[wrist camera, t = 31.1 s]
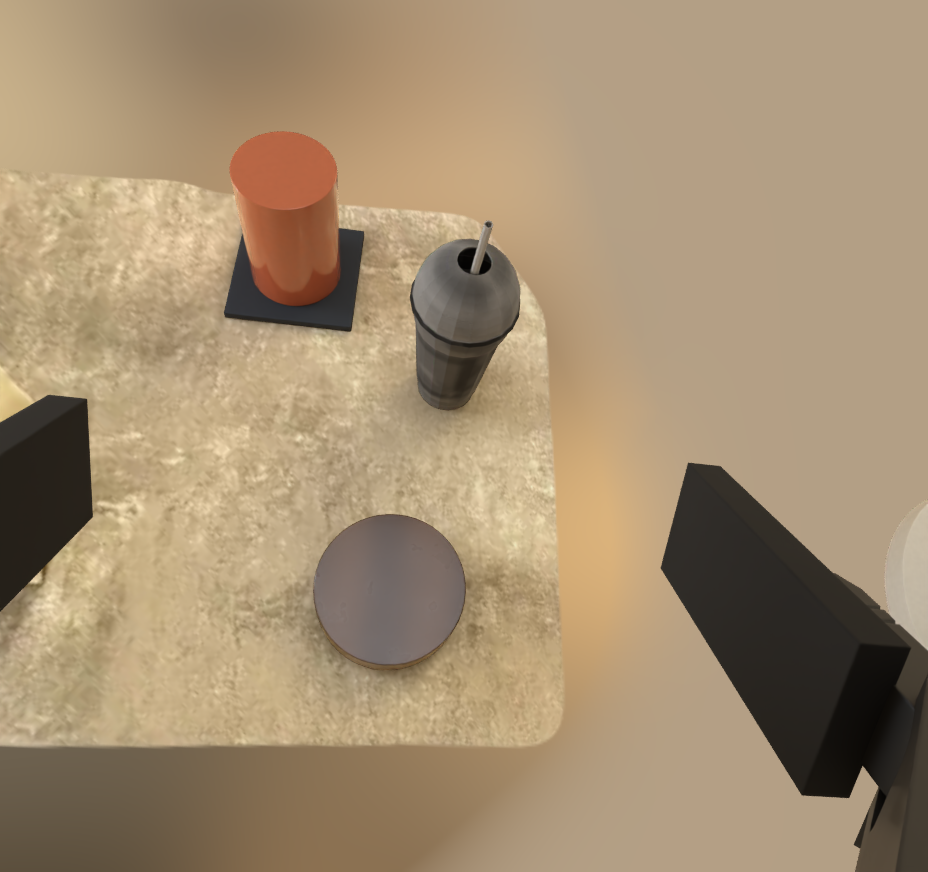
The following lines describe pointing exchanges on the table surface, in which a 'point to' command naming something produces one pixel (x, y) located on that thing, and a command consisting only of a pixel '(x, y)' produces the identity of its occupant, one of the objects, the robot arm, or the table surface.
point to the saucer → (389, 591)
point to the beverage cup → (461, 316)
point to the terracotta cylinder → (289, 215)
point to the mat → (322, 314)
